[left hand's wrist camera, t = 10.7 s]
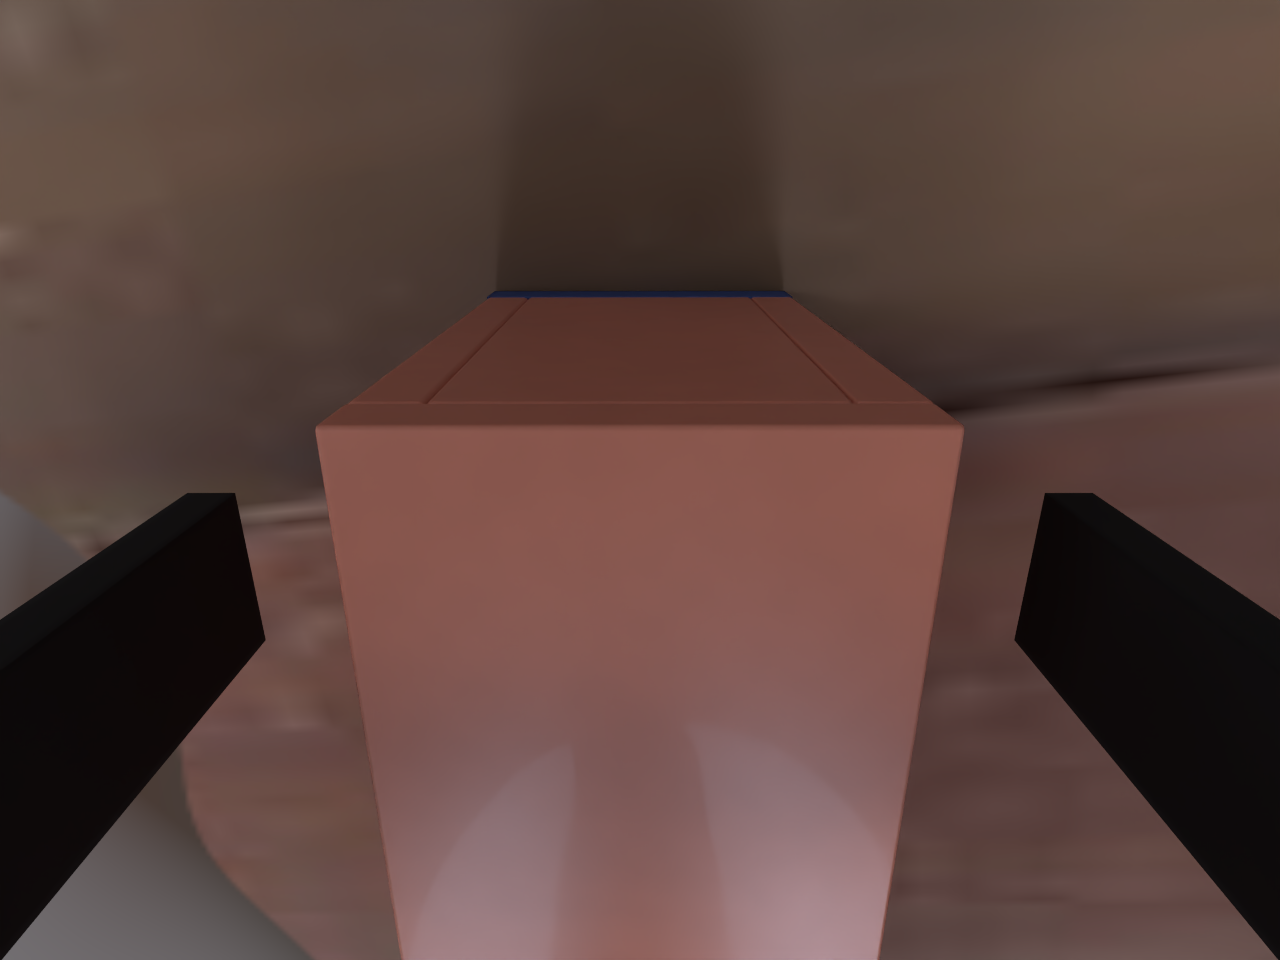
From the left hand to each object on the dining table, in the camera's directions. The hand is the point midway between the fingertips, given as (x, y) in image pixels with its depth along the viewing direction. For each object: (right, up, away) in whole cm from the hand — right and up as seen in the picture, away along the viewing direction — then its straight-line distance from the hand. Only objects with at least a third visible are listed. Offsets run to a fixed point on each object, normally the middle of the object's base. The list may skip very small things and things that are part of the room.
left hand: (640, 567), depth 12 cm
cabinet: (0, -2, +7) cm, 7 cm away
